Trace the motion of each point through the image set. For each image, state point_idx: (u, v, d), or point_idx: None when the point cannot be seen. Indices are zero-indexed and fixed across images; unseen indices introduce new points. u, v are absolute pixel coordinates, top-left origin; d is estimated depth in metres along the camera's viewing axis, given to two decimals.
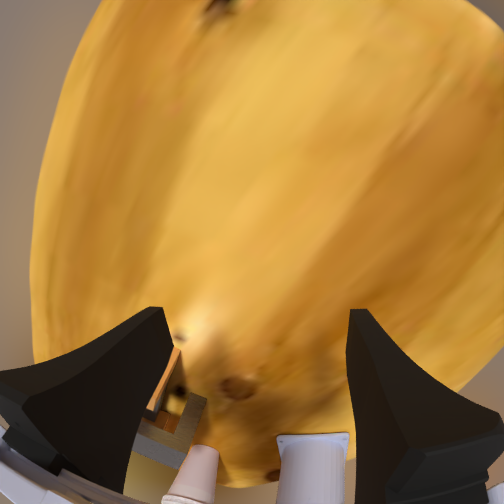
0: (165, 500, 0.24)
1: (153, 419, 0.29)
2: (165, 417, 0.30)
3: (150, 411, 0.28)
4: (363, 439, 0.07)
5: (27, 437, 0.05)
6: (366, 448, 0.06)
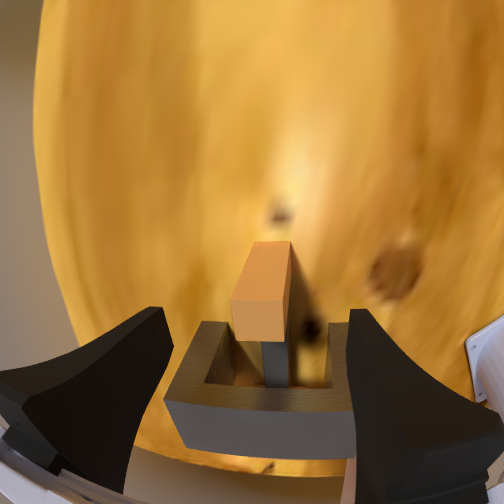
0: None
1: None
2: None
3: (277, 386, 0.19)
4: (363, 439, 0.07)
5: (27, 437, 0.05)
6: (366, 448, 0.06)
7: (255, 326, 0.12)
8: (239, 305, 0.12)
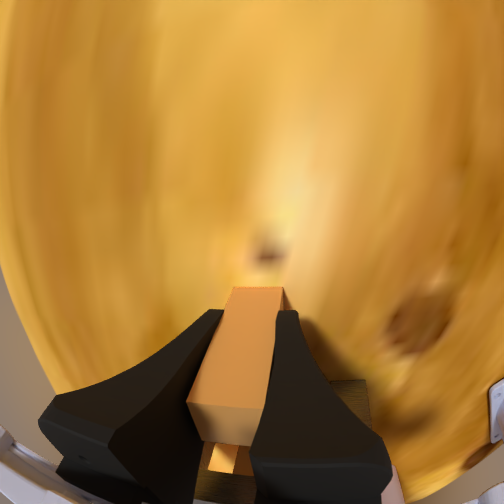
0: None
1: None
2: None
3: None
4: None
5: (92, 470, 0.05)
6: None
7: (226, 431, 0.07)
8: (200, 408, 0.07)
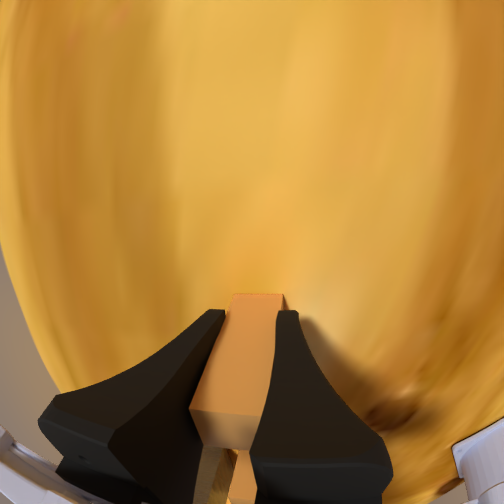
0: None
1: None
2: None
3: None
4: None
5: (91, 470, 0.05)
6: None
7: (227, 436, 0.07)
8: (202, 415, 0.07)
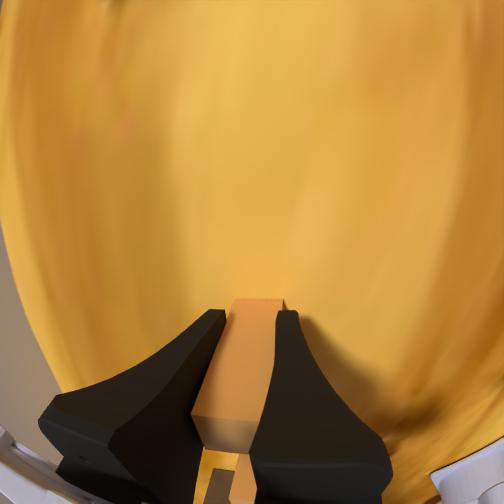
0: None
1: None
2: None
3: None
4: None
5: (92, 470, 0.05)
6: None
7: (228, 441, 0.08)
8: (204, 420, 0.07)
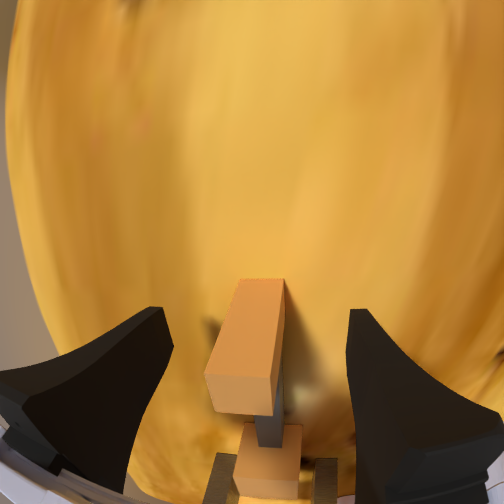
0: None
1: (278, 443, 0.16)
2: (297, 433, 0.17)
3: (269, 431, 0.16)
4: (363, 439, 0.07)
5: (27, 437, 0.05)
6: (366, 448, 0.06)
7: (237, 400, 0.09)
8: (215, 379, 0.09)
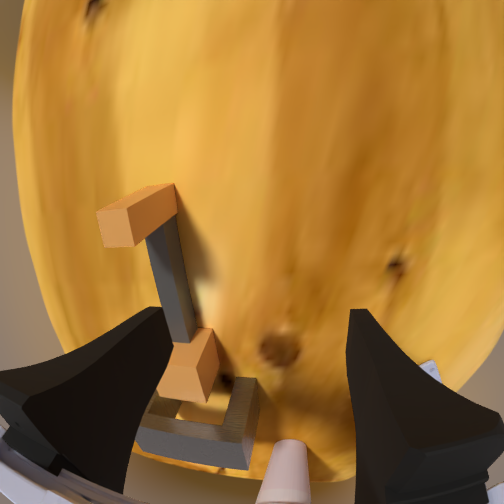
0: None
1: (186, 337, 0.22)
2: (205, 334, 0.23)
3: (175, 320, 0.21)
4: (363, 439, 0.07)
5: (27, 437, 0.05)
6: (366, 448, 0.06)
7: (113, 233, 0.14)
8: (101, 215, 0.14)
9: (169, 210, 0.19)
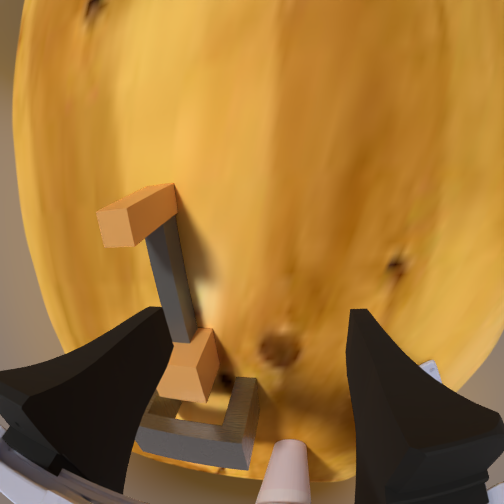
0: None
1: (186, 337, 0.22)
2: (205, 334, 0.23)
3: (175, 320, 0.21)
4: (363, 439, 0.07)
5: (27, 437, 0.05)
6: (366, 448, 0.06)
7: (113, 233, 0.14)
8: (101, 215, 0.14)
9: (169, 210, 0.19)
